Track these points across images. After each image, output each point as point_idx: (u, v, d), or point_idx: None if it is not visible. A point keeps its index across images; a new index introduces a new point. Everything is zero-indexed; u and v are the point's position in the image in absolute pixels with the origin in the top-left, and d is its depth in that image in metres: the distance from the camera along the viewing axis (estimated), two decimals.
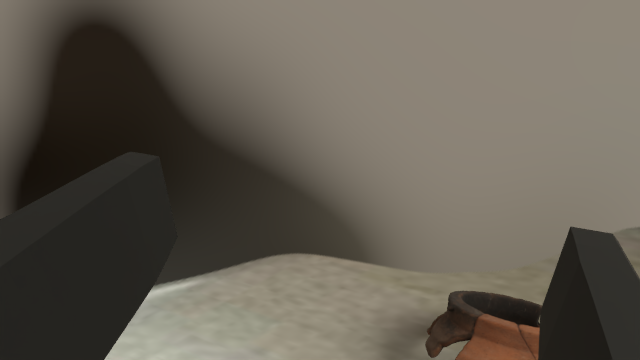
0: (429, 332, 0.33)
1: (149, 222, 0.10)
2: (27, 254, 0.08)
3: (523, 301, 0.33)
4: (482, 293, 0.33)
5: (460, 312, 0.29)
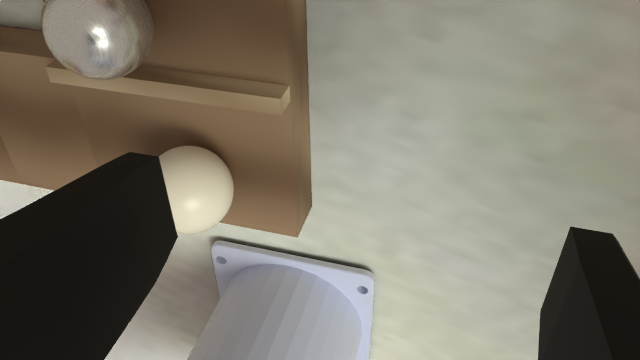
0: None
1: (149, 222, 0.10)
2: (26, 253, 0.08)
3: None
4: None
5: None
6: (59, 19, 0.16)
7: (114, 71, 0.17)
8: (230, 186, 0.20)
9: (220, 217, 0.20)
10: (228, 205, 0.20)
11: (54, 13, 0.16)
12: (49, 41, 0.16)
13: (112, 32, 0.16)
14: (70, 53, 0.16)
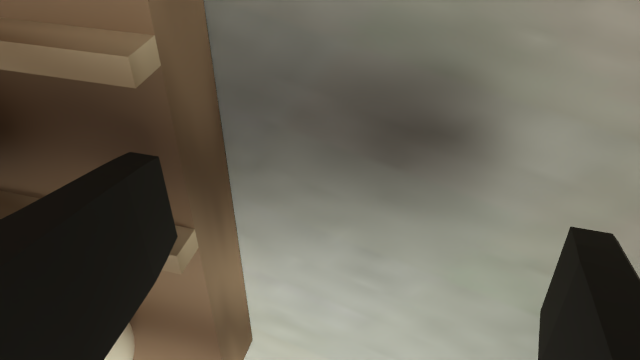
0: None
1: (149, 222, 0.10)
2: (27, 253, 0.08)
3: None
4: None
5: None
6: None
7: None
8: (125, 350, 0.15)
9: None
10: None
11: None
12: None
13: None
14: None
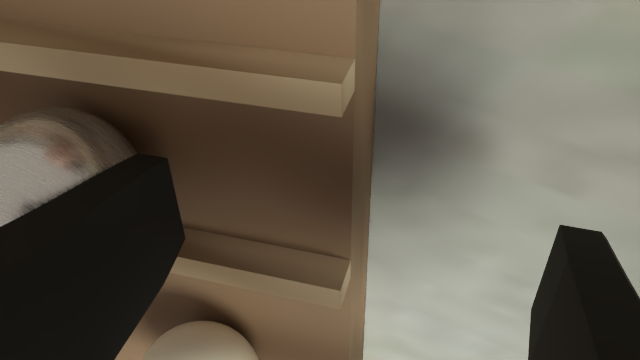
0: None
1: (158, 224, 0.10)
2: (37, 256, 0.08)
3: None
4: None
5: None
6: None
7: None
8: None
9: None
10: None
11: None
12: None
13: None
14: None
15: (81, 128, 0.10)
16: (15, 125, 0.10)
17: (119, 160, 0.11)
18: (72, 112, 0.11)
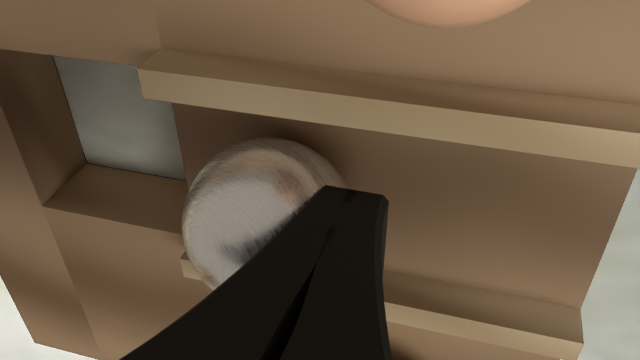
0: None
1: None
2: (288, 312, 0.07)
3: None
4: None
5: None
6: (205, 218, 0.09)
7: None
8: None
9: None
10: None
11: (200, 205, 0.09)
12: (184, 239, 0.10)
13: None
14: (207, 271, 0.10)
15: (310, 168, 0.10)
16: (250, 148, 0.10)
17: None
18: (305, 149, 0.10)
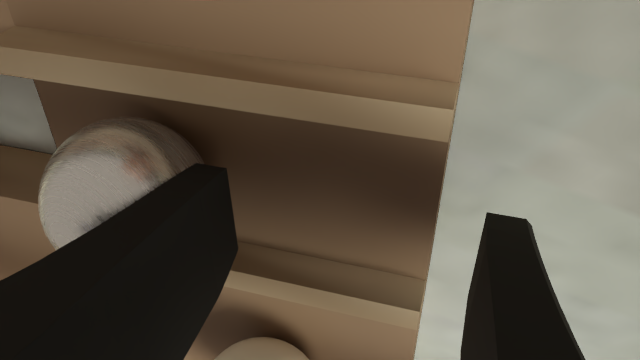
0: None
1: (216, 235, 0.10)
2: (113, 272, 0.07)
3: None
4: None
5: None
6: (58, 201, 0.10)
7: None
8: None
9: None
10: None
11: (52, 188, 0.10)
12: (42, 225, 0.10)
13: None
14: None
15: (158, 141, 0.10)
16: (96, 129, 0.10)
17: None
18: (153, 124, 0.11)
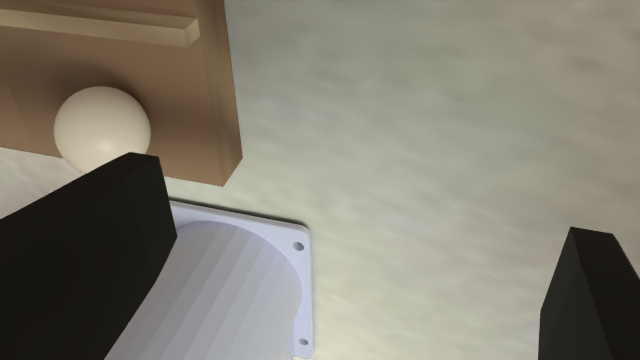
0: None
1: (149, 222, 0.10)
2: (27, 253, 0.08)
3: None
4: None
5: None
6: None
7: None
8: (144, 127, 0.20)
9: None
10: (142, 147, 0.20)
11: None
12: None
13: None
14: None
15: None
16: None
17: None
18: None
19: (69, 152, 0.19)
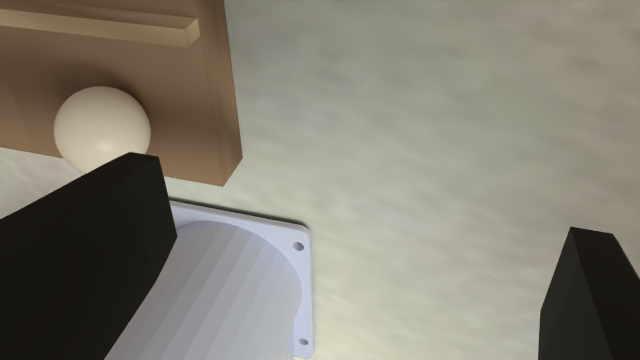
0: None
1: (149, 222, 0.10)
2: (27, 253, 0.08)
3: None
4: None
5: None
6: None
7: None
8: (144, 127, 0.20)
9: None
10: (142, 147, 0.20)
11: None
12: None
13: None
14: None
15: None
16: None
17: None
18: None
19: (69, 152, 0.19)
